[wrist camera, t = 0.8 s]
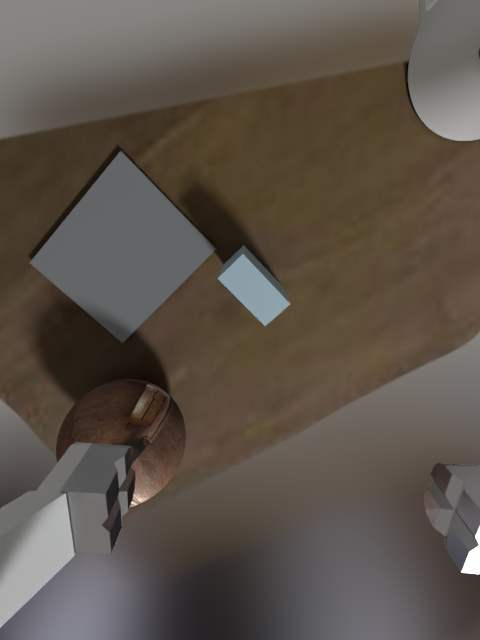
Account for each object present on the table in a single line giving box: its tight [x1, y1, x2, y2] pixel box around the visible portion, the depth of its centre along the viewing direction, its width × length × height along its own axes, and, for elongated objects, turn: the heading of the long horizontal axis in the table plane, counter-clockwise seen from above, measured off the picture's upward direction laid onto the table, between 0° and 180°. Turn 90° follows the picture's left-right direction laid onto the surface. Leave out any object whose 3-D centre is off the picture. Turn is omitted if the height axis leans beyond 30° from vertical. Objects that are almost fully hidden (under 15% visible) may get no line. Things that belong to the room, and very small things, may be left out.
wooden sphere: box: [56, 379, 186, 507], centre depth 40 cm, size 15×15×15 cm
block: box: [218, 245, 290, 326], centre depth 36 cm, size 4×7×9 cm, turn 44°
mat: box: [30, 151, 216, 343], centre depth 40 cm, size 18×15×1 cm
